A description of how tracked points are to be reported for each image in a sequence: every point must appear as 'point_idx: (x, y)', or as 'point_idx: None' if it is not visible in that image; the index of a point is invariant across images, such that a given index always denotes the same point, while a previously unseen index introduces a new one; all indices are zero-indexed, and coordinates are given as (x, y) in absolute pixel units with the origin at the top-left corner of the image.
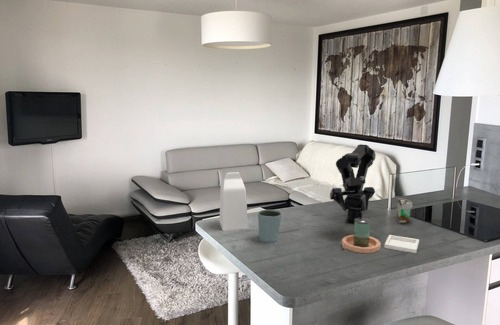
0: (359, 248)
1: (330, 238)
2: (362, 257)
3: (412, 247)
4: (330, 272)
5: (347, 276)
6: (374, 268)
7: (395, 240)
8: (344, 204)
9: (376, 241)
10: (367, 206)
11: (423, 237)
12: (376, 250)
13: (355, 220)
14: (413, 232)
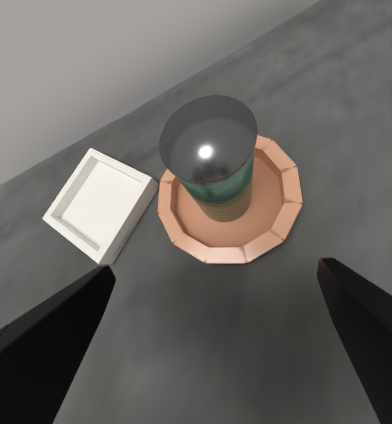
0: None
1: None
2: None
3: (85, 188)
4: (358, 34)
5: (309, 28)
6: (228, 78)
7: (99, 241)
8: (388, 314)
9: (168, 193)
10: (73, 283)
11: (13, 281)
12: None
13: (254, 122)
14: None
